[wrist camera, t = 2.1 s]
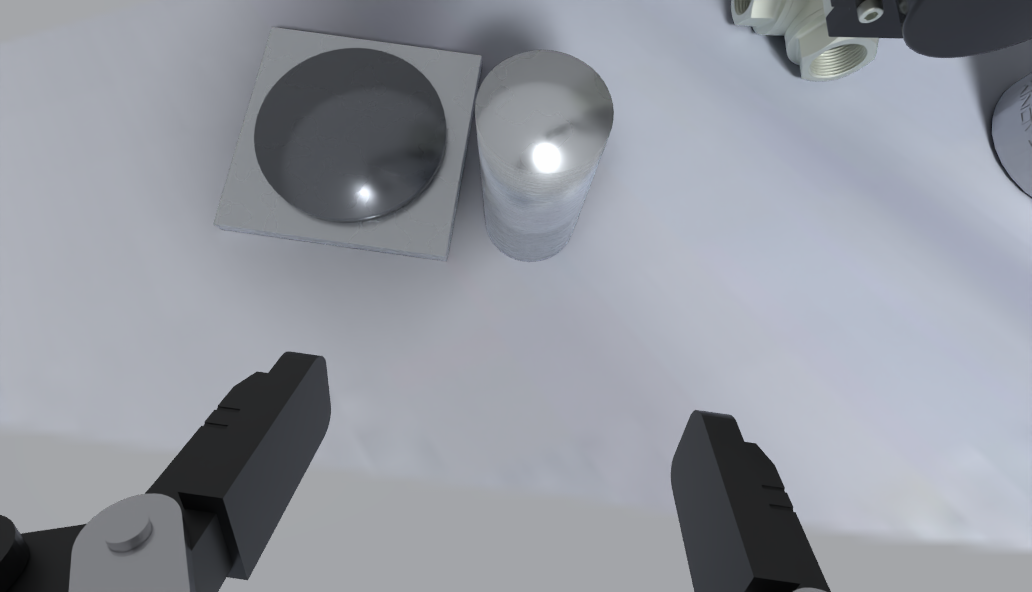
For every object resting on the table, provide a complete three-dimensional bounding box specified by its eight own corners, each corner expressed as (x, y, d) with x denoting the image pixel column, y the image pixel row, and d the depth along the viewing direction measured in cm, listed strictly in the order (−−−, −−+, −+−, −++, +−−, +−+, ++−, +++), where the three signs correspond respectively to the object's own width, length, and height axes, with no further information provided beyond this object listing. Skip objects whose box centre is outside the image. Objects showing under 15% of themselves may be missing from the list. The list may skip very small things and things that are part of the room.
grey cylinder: (579, 184, 28) (619, 59, 18) (569, 267, 27) (606, 182, 17) (492, 172, 28) (486, 41, 18) (479, 254, 27) (464, 162, 17)
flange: (482, 65, 29) (481, 47, 28) (446, 261, 27) (443, 252, 25) (277, 37, 29) (266, 18, 28) (221, 229, 27) (206, 219, 25)
